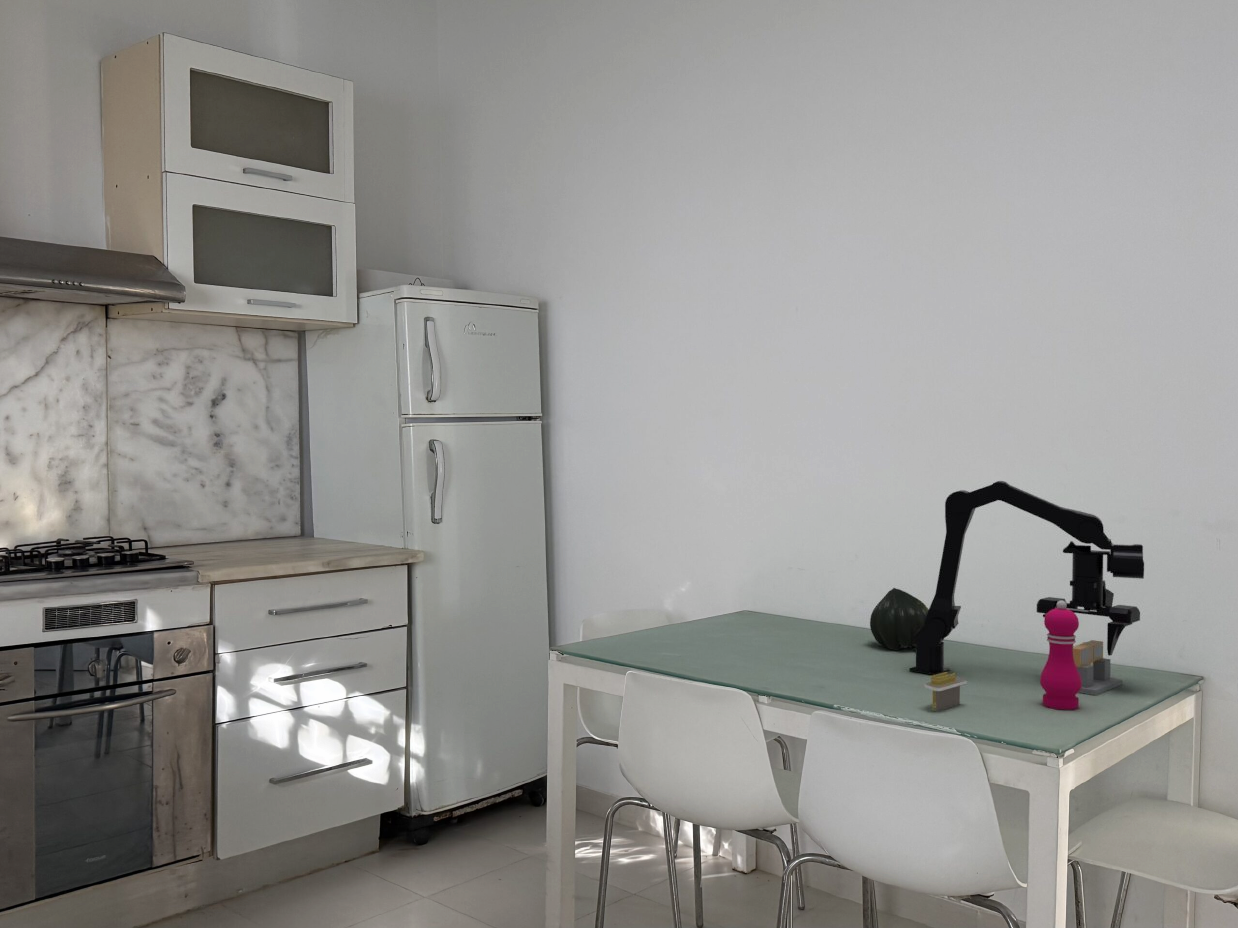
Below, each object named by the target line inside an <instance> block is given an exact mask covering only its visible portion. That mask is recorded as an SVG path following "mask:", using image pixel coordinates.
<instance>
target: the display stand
mask: <svg viewBox="0 0 1238 928" xmlns="http://www.w3.org/2000/svg"><path fill="white" fill-rule="evenodd" d="M1076 667H1077V666H1076ZM1077 669H1078V672H1079V674H1080V677H1081V683H1082V687H1081V690H1080V691H1079V692H1078V693H1077V694H1083V693H1085V694H1084V695H1089V694H1091V695H1090V696H1095V695H1096V696H1098V695H1100V693H1101V694H1103V693H1106V692H1108V691H1110V690H1113V689H1114V688H1117V687H1119V686H1121V685H1123V679H1121V678H1115V677H1111V659H1110V658H1104V657H1103V659H1100V660H1097V661H1095V662H1092V663H1089V664H1086V665H1084V666H1081V667H1077ZM1107 690H1108V691H1107Z"/></svg>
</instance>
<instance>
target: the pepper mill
mask: <svg viewBox="0 0 1238 928" xmlns="http://www.w3.org/2000/svg"><path fill="white" fill-rule="evenodd" d="M1065 601H1066V600H1065ZM1065 601H1063V600H1060V601H1058V602H1057V608H1056V609H1052V610H1050V611H1049V612H1048V613H1047V614H1046V616H1045V618H1044V620H1043V622H1044V623H1043V625H1044V627H1045V628H1046V629H1047V631H1048V633H1047V634H1046V636H1047V639H1046V641H1047V642H1048V645H1049V648H1048V649H1049V651H1048V658H1047V660H1046V663H1045V664H1044V667H1043V669H1042V670H1041V675H1040V678H1039V685H1040V686H1041V688H1042V689H1043V690H1044V691H1045V693H1043V694H1042V705H1043V706H1044V707H1046V708H1049V709H1053V708H1054V709H1055V710H1061V709H1062V710H1063V711H1072V709H1073V710H1077V709H1079V707H1080V706H1079V703H1080V701H1079V699H1080V698H1079V697H1078V696H1077V694H1079V693H1078V692H1079V691H1080V690H1081V687H1082V683H1081V677H1080V674H1079V672H1078V669H1077V667H1076V665H1075V662H1074V658H1073V646H1074V644H1075V643H1076V642H1077V640H1076V635H1075V633H1076V631H1078V629H1079V627H1080V626H1079V625H1080V622H1079V618H1078V616H1077V613H1074V612H1072V611H1070V610H1068V609H1065V608H1066V607H1067V604H1066V603H1067V601H1066V602H1065Z"/></svg>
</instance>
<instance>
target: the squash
mask: <svg viewBox="0 0 1238 928" xmlns="http://www.w3.org/2000/svg"><path fill="white" fill-rule="evenodd" d="M928 610H929V608H928V607H927V605H926V603H924V602H923V601H921V600H920V599H918V598H917V597H914V596H913V595H911V594H910V593H908V592H907V591H904V590H902V589H900V588H896V587H893V588H892V589H890V590H888V591H887V593H886V594H885V595H884V596H883V598H882V599H880V601H879V602H878V603H877V604H876V606H875V607H874V608H873V610H872V612H871V615H870V620H869V627H870V628H869V629H870V631H871V634H872V636H873V638H874V639H875V641H876V642H877V644H878V645H880V646H881V647H883V648H885V649H889V650H895V651H898V650H901V649H902V648H904V649H907V648H908V647H910V648H911V649H912V650H915V649H916V644H915V641H914V638H913V636H914V635H915V634H916V633H917V632H918V630H919V629H921V628H922V627H923V626H924V621H925V618H926V616H927V613H928Z"/></svg>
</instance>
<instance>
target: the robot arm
mask: <svg viewBox="0 0 1238 928" xmlns="http://www.w3.org/2000/svg"><path fill="white" fill-rule="evenodd" d="M998 501H1001V502H1004V503H1005V504H1009V505H1011V506H1013V507H1014V508H1017V509H1019V510H1022V511H1024V512H1026V513H1029V514H1031V515H1033V516H1035V517H1038V518H1040V519H1042V520H1045V521H1047V522H1049V523H1051V524H1053V525H1054V526H1056V527H1057V528H1059V529H1061V531H1063V532H1065V533H1066V534H1068V535H1069V536H1071V537H1072V538H1074V539H1075V540H1077V541H1079V542H1080V543H1083V544H1086V545H1083V544H1080V545H1079V544H1076V543H1075V542H1074V541H1072V540H1070V542H1069V543H1068V545H1066V546H1065V547H1063V550H1062V553H1064V554H1072V562H1071V563H1072V566H1071V567H1072V569H1071V572H1072V573H1071V575H1072V576H1071V577H1072V578H1071V580H1069V586H1070V587H1071V600H1069V602H1067V601H1066V599H1065V598H1062V597H1061V598H1060V597H1051V596H1048V597H1044V598H1040V599H1038V601H1037V602H1036V613H1038V614H1042V618H1044V619H1045V616H1046V614H1047V613H1048V612H1049V611H1050V610H1052V609H1056V608H1057V602H1058V601H1060V600H1063V601H1065V602H1066V604H1067V607H1066V608H1065V609H1068V610H1070V611H1072V612H1074V613H1075V614H1082V615H1090V616H1097V617H1098V616H1100V617H1108V618H1109V619H1110V621H1109V622H1108V623H1107V627H1106V628H1107V634H1106V635H1107V637H1106V641H1107V642H1106V650H1107V655H1108V657H1109V656H1112V655H1113V653H1114V650H1115V648H1116V645H1117V642H1118V640H1119V638H1120V636H1121V634H1122V632H1123V631H1124V629H1125V628H1127V626H1131V625H1133V624H1134V623H1136V622H1139V621H1140V622H1141V611H1140V610H1139V608H1138V607H1137V606H1135V605H1125V604H1116V605H1114V606H1113V602H1114V596H1115V595H1114V594H1115V593H1114V592H1113V591H1111V590H1109V589H1107V587H1106V580H1104V556H1106V573H1110V574H1112V577H1113V578H1121V579H1122V578H1123V579H1139V580H1141V579H1144V577H1145V561H1144V546H1143V544H1138V543H1136V544H1135V543H1133V544H1116V543H1113V542H1112V539H1111V538H1108V536H1107V535H1106V533H1105V532H1104V531H1105V530H1104V524H1103V522H1102V519H1100V517H1098V516H1097V515H1095V514H1093V513H1087V512H1086V511H1084V512H1083V511H1082V510H1081V511H1080V510H1075V509H1071V508H1066V507H1062V506H1060V505H1057V504H1055V503H1053V502H1050V501H1048V500H1046V499H1044V498H1042V497H1038V496H1037V495H1034V494H1032V493H1030V492H1028V491H1024V490H1023V489H1020V488H1018V487H1016V486H1013V485H1011V484H1010V483H1008V482H1007V481H1004V480H998V481H995V482H993V483H992V484H990V485H987V486H983V487H981V488H978V489H976V490H972V491H969V490H968V491H967V490H963V489H962V490H961V489H960V490H956V491H954V492H952V493H950V494H949V495H948V496H947V497H946V500H945V503H944V508H945V509H944V512H945V513H944V519H945V521H944V522H945V536H944V537H945V539H944V544H943V547H942V548H943V549H942V555H941V559H940V560H941V561H940V565H939V572H938V577H937V583H936V589H935V594H934V596H933V598H932V601H931V602H930V603H931V604H930V605H929V608H928V609H929V610H928V613H927V616H926V618H925V621H924V626H923V627H922V628H921V629H919V630H918V632H917V633H916V634H915V635H914V636H913V638H914V641H915V644H916V650H915V666H913V667H909V668H908V669H909V672H916V673H920V674H926V675H931V676H933V675H937V674H941V673H945V672H948V673H949V672H950V670H951V668H948V667H944V665H945V664H944V663H945V662H944V661H945V659H944V658H945V657H944V656H945V654H944V653H945V649H944V648H945V647H944V645H945V642H944V640H945V638H946V637H948V636H949V635H950V634H951V633H952V632H953V630H955V629H956V628H957V626H958V625H959V614H960V612H961V609H962V605H955V604H956V603H955V594H956V587H957V583H958V581H957V580H958V577H959V571H960V565H961V559H962V553H963V549H964V548H963V547H964V541H965V539H966V537H965V536H966V534H967V530H968V528H969V527H970V524H971V522H972V519H973V515H974V513H975V511H976V509H977V508H980V507H982V506H985V505H989V504H991V503H994V502H998ZM1087 544H1089V545H1087ZM1090 544H1093V545H1094V546H1096V547H1098V548H1099V549H1101V550H1094V549H1093V550H1092V546H1091V545H1090Z"/></svg>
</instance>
